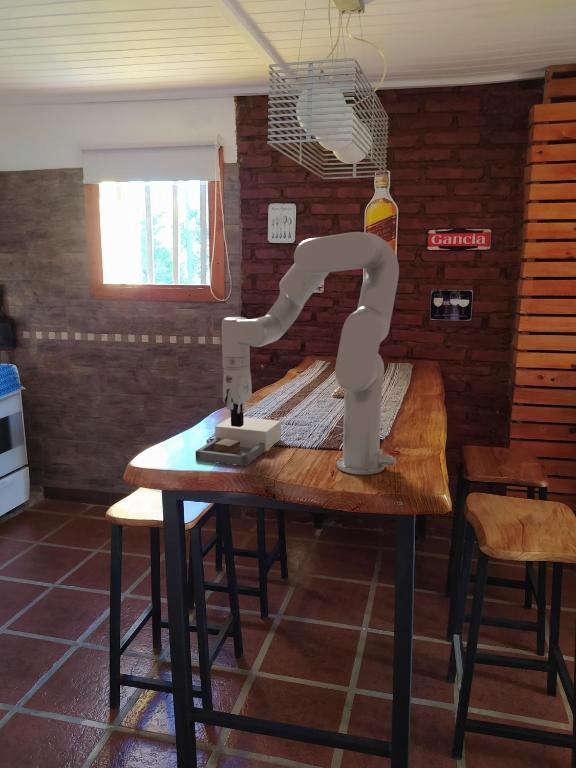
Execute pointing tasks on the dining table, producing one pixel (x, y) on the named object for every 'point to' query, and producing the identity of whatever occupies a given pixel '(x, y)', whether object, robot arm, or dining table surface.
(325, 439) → the dining table surface
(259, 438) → the raised plate
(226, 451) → the walnut tile
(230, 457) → the box
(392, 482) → the dining table surface
